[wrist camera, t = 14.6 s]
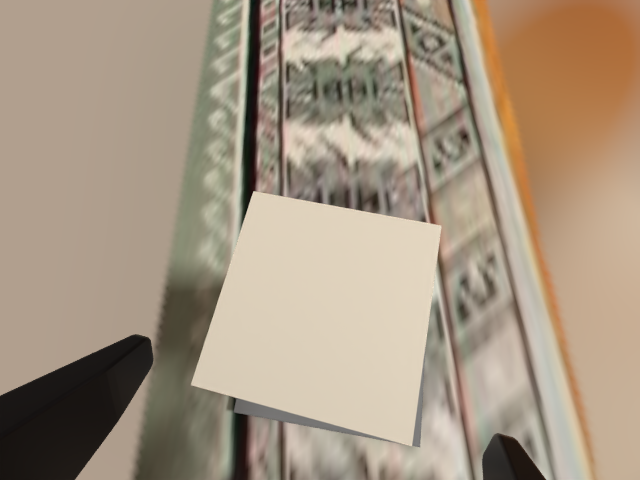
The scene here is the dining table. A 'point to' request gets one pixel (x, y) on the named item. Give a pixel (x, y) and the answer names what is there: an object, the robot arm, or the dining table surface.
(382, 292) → the cream block
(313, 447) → the dining table surface
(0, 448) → the robot arm
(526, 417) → the dining table surface
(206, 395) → the dining table surface
